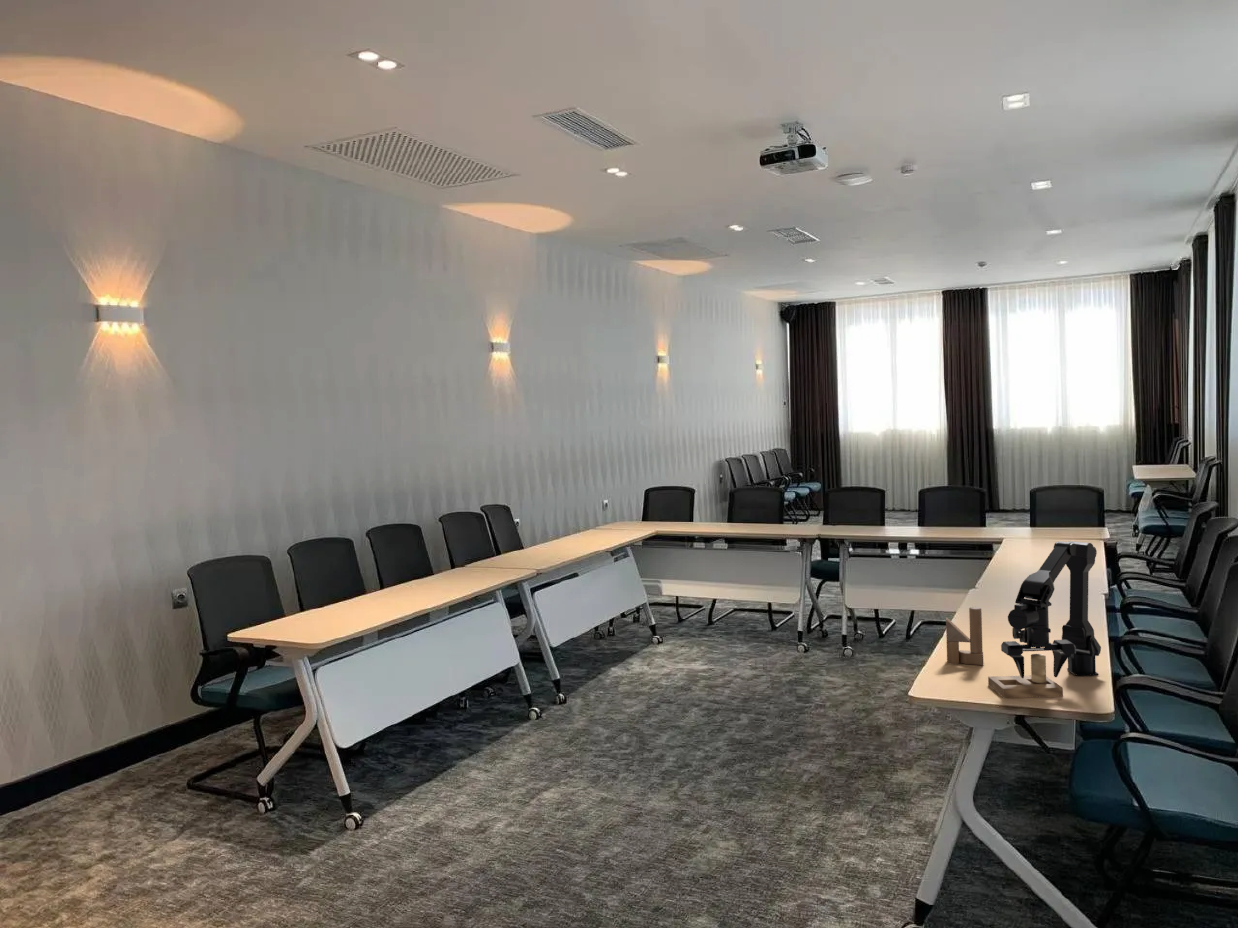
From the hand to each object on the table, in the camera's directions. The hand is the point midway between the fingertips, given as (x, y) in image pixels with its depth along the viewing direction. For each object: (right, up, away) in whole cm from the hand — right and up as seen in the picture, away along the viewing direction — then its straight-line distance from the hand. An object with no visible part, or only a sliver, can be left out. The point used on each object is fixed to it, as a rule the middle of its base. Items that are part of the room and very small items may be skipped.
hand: (1038, 677), depth 248 cm
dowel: (0, -4, 0) cm, 4 cm away
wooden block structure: (-9, -3, +30) cm, 31 cm away
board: (-4, -4, 0) cm, 5 cm away
